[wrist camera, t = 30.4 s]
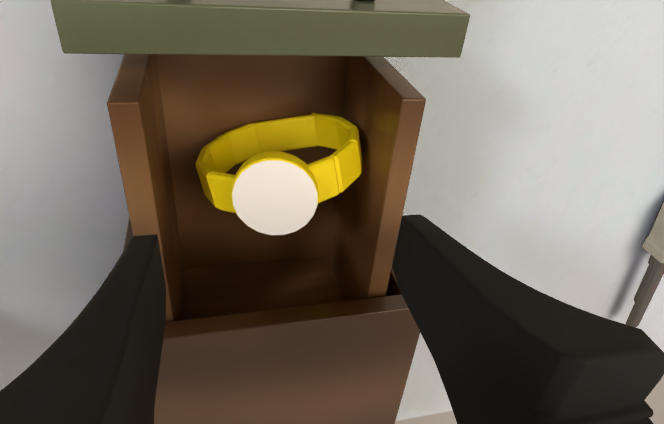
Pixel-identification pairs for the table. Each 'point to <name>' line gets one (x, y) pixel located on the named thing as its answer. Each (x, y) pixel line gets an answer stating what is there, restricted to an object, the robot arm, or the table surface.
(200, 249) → the drawer
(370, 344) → the cabinet
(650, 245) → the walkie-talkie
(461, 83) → the table surface
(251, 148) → the watch
